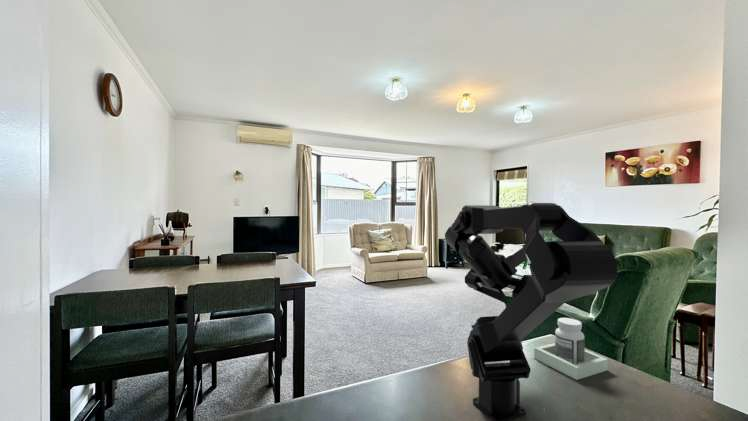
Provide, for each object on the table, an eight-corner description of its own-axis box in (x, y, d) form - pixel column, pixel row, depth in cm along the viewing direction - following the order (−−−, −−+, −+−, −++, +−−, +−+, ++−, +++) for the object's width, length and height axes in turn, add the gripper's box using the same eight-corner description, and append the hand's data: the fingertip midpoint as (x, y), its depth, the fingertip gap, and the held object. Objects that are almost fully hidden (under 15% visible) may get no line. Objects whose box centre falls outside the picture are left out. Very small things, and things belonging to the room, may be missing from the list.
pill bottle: (575, 359, 74) (576, 317, 74) (590, 371, 69) (590, 326, 68) (550, 358, 75) (550, 316, 75) (562, 370, 69) (562, 325, 69)
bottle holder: (576, 380, 65) (576, 368, 65) (534, 358, 75) (534, 347, 75) (607, 370, 69) (607, 359, 69) (563, 350, 79) (563, 340, 78)
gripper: (542, 236, 59) (580, 289, 64) (474, 229, 76) (508, 271, 81) (510, 281, 56) (553, 333, 61) (447, 264, 73) (484, 305, 78)
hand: (521, 306), depth 70 cm, fingers open, 9 cm apart
